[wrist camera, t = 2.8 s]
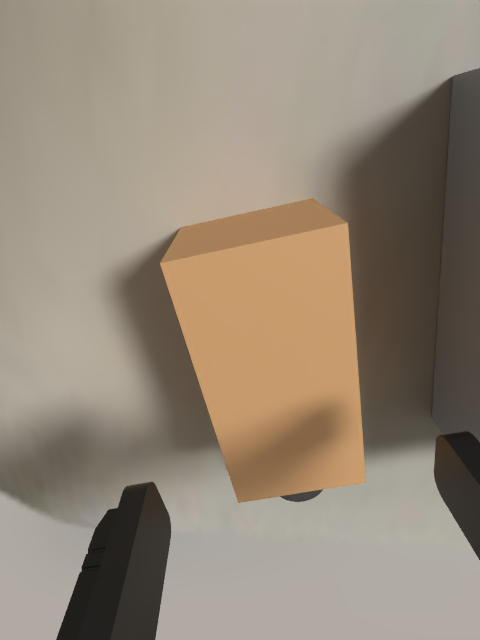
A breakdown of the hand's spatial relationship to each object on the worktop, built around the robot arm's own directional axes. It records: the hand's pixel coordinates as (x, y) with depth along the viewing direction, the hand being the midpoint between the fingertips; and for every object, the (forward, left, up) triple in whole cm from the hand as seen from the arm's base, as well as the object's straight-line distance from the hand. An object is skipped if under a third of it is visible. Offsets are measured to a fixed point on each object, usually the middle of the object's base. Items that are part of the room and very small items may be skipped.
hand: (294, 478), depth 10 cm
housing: (-1, 0, -8) cm, 8 cm away
